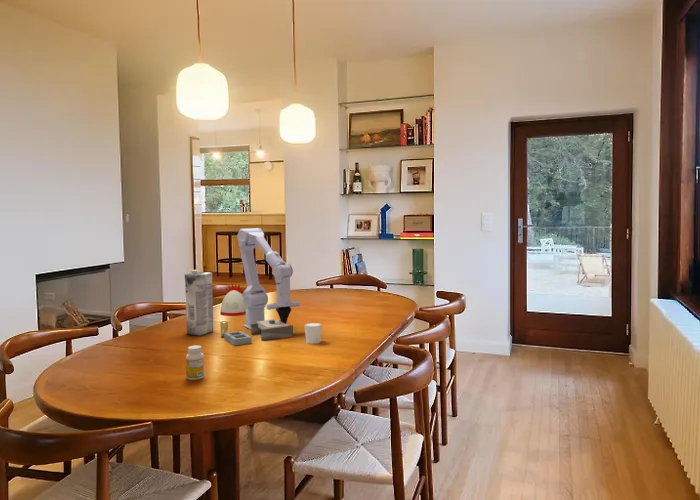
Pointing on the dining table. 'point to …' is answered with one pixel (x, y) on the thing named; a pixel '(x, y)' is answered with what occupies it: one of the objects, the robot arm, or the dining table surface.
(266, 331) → the housing
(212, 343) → the dining table surface
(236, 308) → the kitchen timer
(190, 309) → the juice carton
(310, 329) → the white cup
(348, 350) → the dining table surface
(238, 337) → the socket board
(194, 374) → the supplement bottle
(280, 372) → the dining table surface
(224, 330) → the pin
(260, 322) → the lid
